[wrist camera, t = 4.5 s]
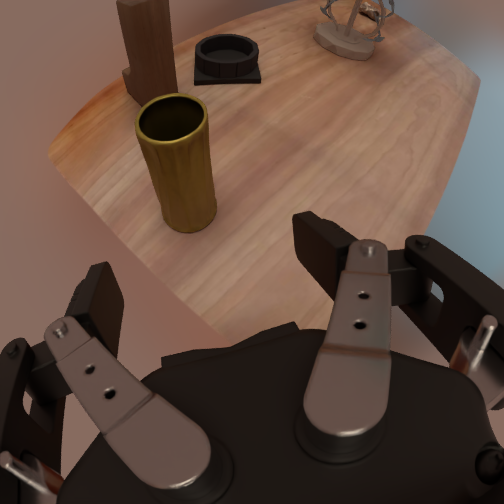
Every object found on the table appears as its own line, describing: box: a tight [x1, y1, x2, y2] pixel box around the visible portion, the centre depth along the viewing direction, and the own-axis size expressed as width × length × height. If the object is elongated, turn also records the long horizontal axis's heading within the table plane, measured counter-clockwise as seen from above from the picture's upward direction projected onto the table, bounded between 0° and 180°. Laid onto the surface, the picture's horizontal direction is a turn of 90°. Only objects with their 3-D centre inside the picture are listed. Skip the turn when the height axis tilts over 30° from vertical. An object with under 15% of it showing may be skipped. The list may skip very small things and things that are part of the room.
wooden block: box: [116, 0, 178, 107], centre depth 28 cm, size 9×4×18 cm, turn 41°
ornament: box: [359, 2, 381, 21], centre depth 54 cm, size 8×7×4 cm
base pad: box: [194, 34, 261, 85], centre depth 38 cm, size 10×10×4 cm
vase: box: [135, 93, 217, 233], centre depth 25 cm, size 6×6×14 cm
